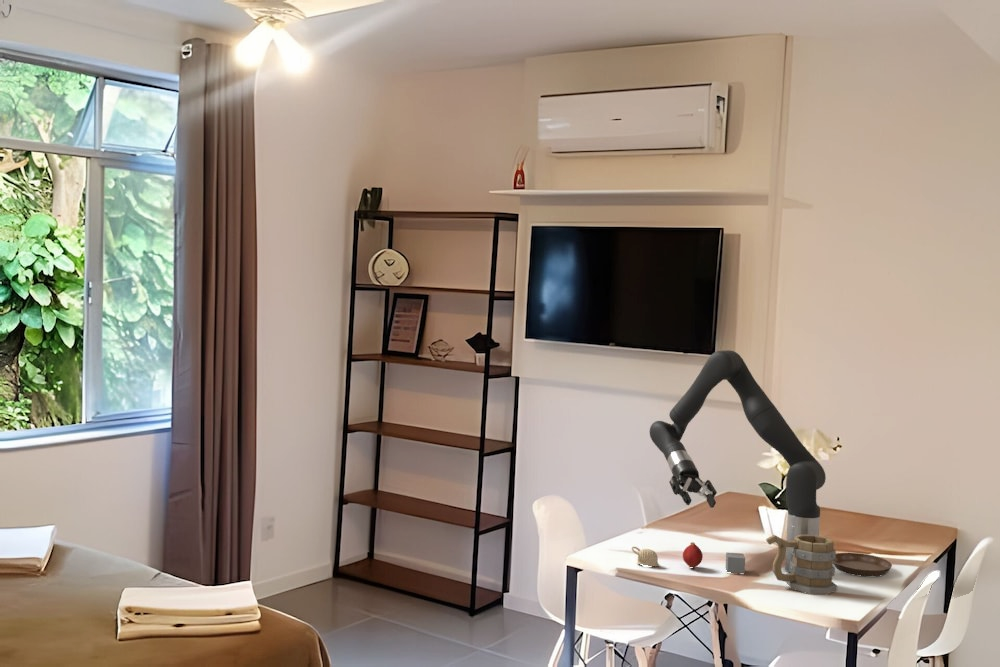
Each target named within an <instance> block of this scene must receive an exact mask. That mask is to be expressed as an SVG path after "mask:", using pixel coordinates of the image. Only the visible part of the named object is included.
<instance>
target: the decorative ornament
mask: <svg viewBox="0 0 1000 667" xmlns="http://www.w3.org/2000/svg"><path fill="white" fill-rule="evenodd" d="M635 549H636V550H637V551H638V552H637V551H636V550H635ZM631 551H632V552H633V553H634V554H635V555H637V562H636V564H637V565H638V564H643V565H648V566H655V567H659V565H660V564H659V561H658V559H659V556H658V555H657V553H656V551H655V550H654V549H651V548H642V549H640V548H638V547H637V546H632V547H631Z"/></svg>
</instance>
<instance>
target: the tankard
mask: <svg viewBox="0 0 1000 667" xmlns="http://www.w3.org/2000/svg"><path fill="white" fill-rule="evenodd" d="M786 540H787V539H784V538H781V537H779V536H777V535H776V534H772V535H771V536H769V537H767V538H766V539H765V541H766V542H767V544H768V545H770V546H771V545H772V544H777V550H776V551H777V553H776V555H775V558H774V560H773V561H772V572H773V574H774V577H775V578H776V580H777V581H781V582H785V584H786V583H787V584H788V585H789V586H790V587H791V588H792V589H791V588H790V587H789V586H788V585H787V584H786V585H787V586H788V587H789V588H790V589H791V590H793V589H796V590H799V591H802V592H801V593H803V592H806V593H805V594H807V593H810V594H809V595H825V594H828V595H830V594H832V593H834V592H836V591H837V588H838V586H837V584H835V582H833V577H834V576H835V574H836V573H835V572H836V571H835V570H836V567H835V566H834V564H833V559H835V557H836V554H837V550H836V549H834V547H835V546H834V544H835V541H833V540H832V539H831V538H830V537H825V536H822V535H819V536H817V535H815V536H814V535H798V536H795V537H794V540H793V541H786ZM786 547H791V551H790V553H791V554H792V555H793V560H792V562H790V570H791V571H792V573H783V572H782V564H783V561H784V559H786ZM799 591H798V592H799ZM829 593H830V594H829Z"/></svg>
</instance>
